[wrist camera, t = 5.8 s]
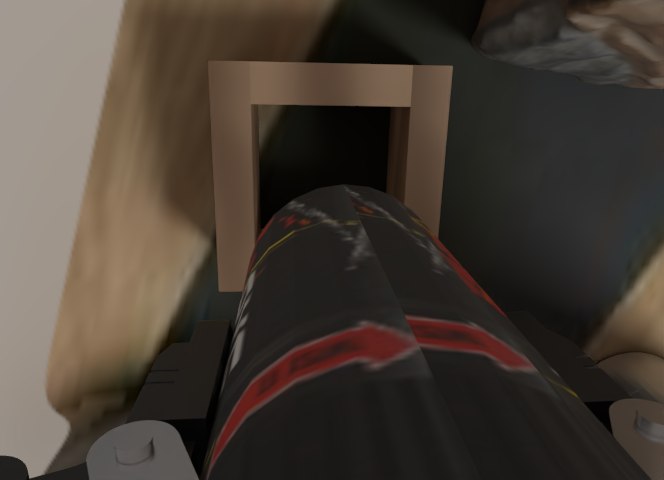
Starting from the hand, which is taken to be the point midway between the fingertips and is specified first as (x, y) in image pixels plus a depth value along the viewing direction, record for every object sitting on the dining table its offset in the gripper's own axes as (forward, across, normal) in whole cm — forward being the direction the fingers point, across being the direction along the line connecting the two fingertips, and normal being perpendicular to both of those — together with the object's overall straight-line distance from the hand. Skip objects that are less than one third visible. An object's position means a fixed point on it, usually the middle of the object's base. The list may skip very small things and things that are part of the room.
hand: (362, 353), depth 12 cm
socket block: (+22, 0, -1) cm, 22 cm away
